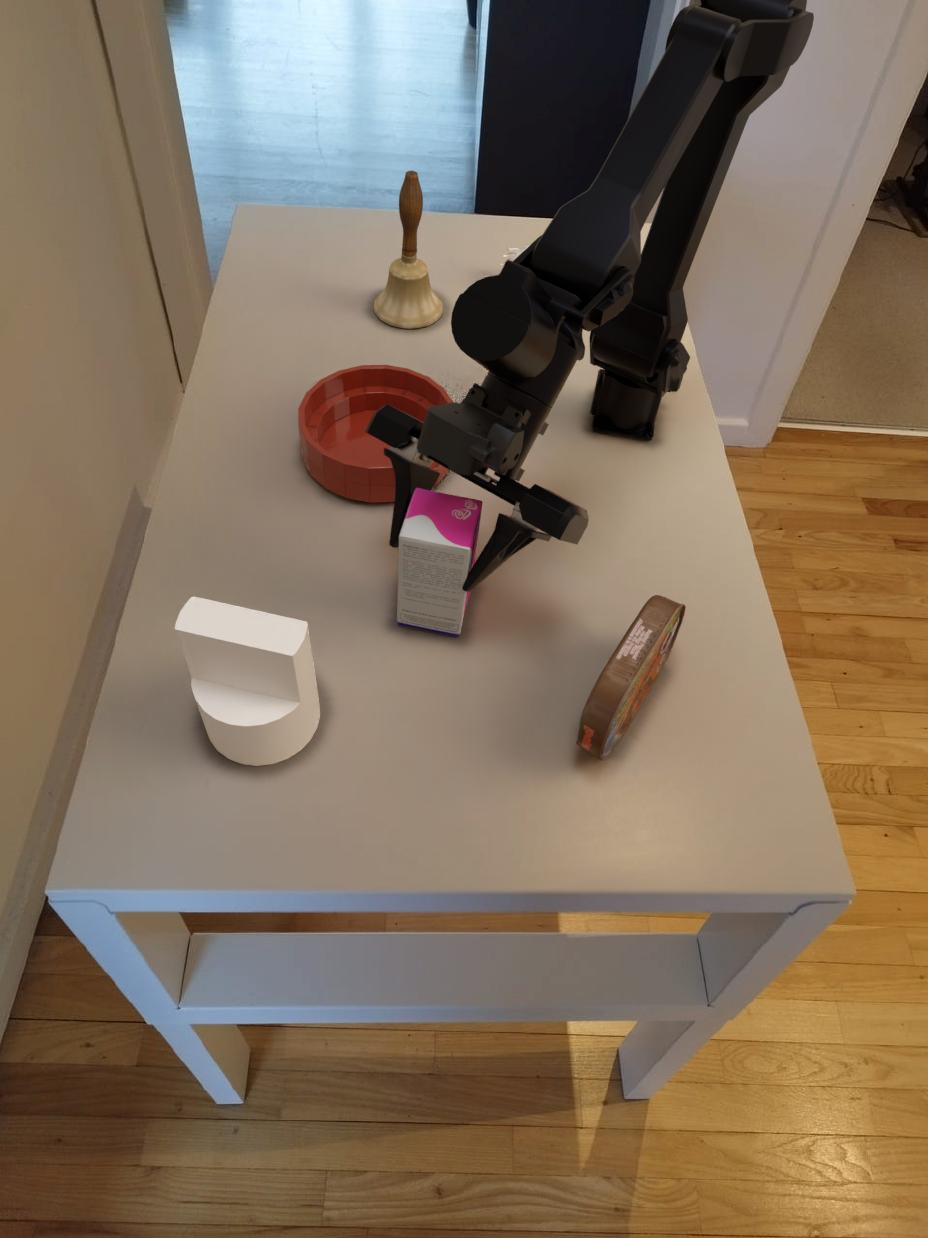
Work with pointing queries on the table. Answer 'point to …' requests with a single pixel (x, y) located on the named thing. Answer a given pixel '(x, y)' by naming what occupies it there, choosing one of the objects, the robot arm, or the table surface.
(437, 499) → the supplement box
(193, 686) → the base with upright slab
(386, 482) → the bowl
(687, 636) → the table surface
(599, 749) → the tin
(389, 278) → the hand bell
